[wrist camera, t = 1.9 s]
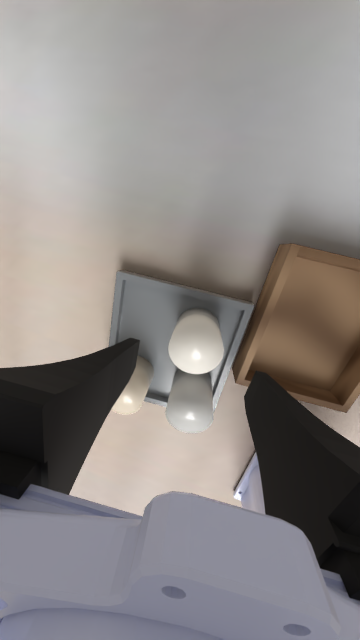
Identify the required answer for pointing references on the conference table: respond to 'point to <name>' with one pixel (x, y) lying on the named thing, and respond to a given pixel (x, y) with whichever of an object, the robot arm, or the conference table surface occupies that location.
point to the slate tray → (172, 326)
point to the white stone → (196, 342)
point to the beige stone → (135, 388)
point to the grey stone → (190, 402)
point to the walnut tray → (307, 328)
